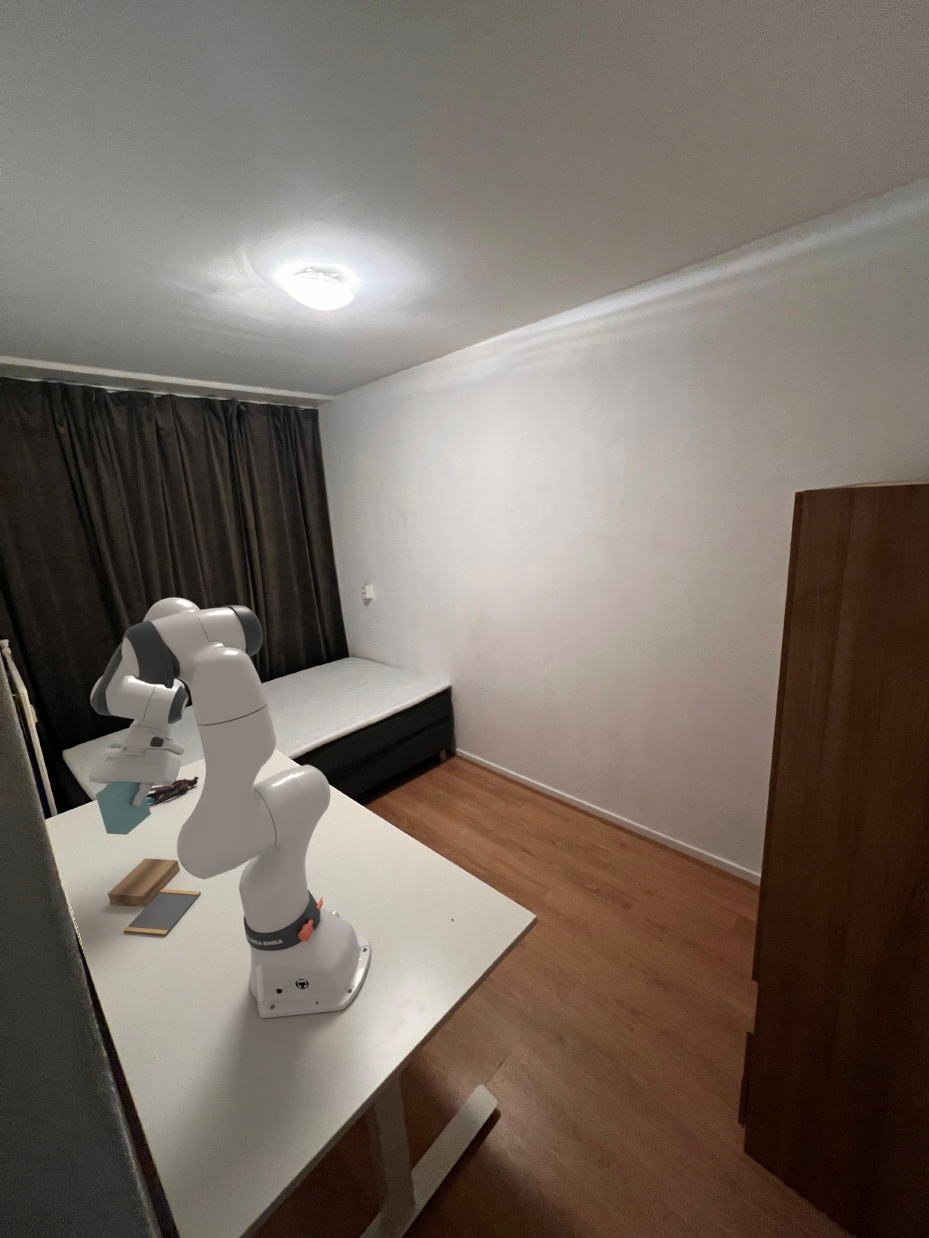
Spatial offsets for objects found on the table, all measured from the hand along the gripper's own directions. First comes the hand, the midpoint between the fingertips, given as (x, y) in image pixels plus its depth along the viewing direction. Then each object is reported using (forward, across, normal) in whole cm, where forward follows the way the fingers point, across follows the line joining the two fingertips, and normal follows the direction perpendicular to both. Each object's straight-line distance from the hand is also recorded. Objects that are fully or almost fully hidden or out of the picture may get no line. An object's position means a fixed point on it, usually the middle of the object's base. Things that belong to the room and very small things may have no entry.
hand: (121, 805), depth 108 cm
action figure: (-8, -23, +42) cm, 48 cm away
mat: (+20, +10, +12) cm, 26 cm away
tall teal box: (+3, 0, +4) cm, 5 cm away
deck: (+16, 0, +17) cm, 23 cm away
